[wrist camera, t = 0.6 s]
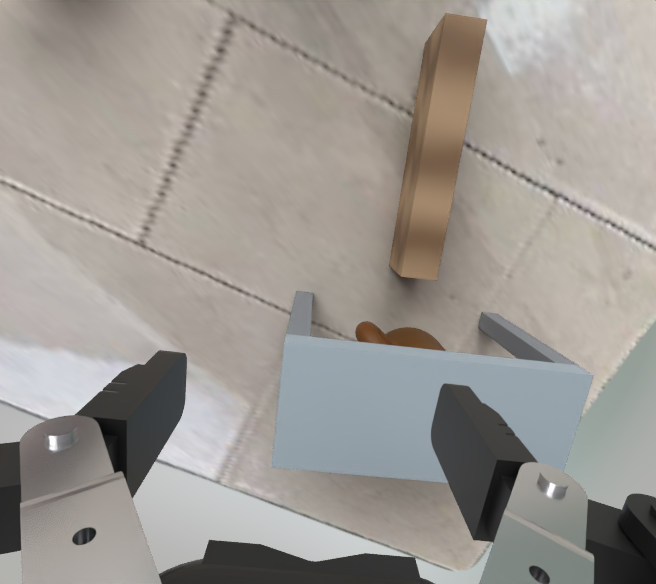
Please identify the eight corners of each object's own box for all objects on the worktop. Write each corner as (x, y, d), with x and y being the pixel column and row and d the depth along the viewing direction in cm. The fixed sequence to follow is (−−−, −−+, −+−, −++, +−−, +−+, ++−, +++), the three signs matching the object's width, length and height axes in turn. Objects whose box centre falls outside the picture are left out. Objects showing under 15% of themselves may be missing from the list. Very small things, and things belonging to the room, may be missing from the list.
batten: (424, 44, 32) (445, 13, 27) (459, 49, 32) (487, 19, 27) (388, 265, 36) (400, 276, 31) (419, 268, 37) (436, 280, 31)
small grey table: (296, 291, 36) (284, 342, 23) (497, 313, 38) (593, 375, 24) (287, 376, 39) (271, 467, 25) (478, 395, 40) (557, 492, 27)
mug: (322, 327, 37) (324, 369, 28) (381, 277, 36) (402, 303, 27) (399, 407, 40) (424, 469, 31) (456, 362, 39) (499, 412, 30)
